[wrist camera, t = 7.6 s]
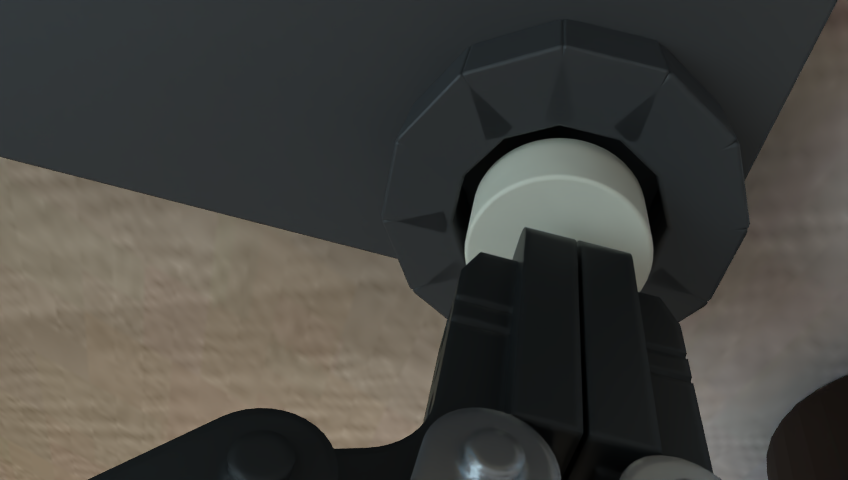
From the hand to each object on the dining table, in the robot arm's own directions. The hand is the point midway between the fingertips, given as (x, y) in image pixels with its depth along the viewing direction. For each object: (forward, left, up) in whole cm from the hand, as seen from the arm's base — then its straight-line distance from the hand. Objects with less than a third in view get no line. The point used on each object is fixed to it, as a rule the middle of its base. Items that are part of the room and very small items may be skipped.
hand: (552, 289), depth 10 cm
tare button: (0, 0, -2) cm, 2 cm away
